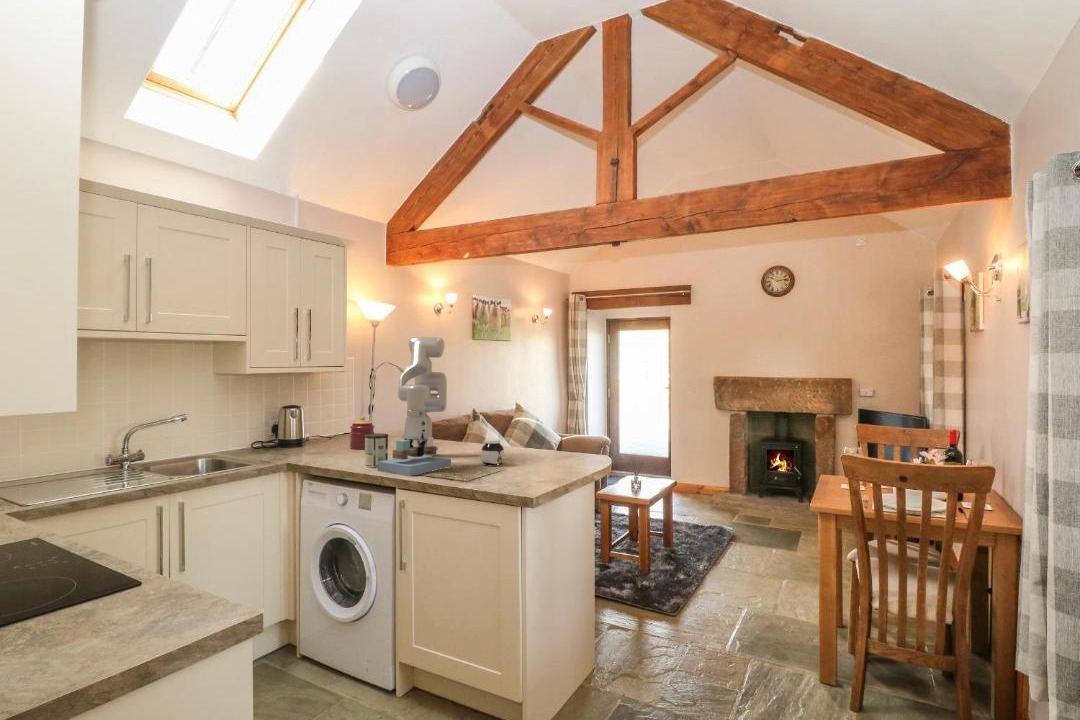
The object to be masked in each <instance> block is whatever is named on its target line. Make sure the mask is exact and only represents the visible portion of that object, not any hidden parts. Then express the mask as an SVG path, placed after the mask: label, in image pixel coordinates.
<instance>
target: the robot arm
mask: <svg viewBox="0 0 1080 720" xmlns="http://www.w3.org/2000/svg"><path fill="white" fill-rule="evenodd" d="M408 348H409V351H410V366H409V367H408V368H406V369H405V370H404V371H403V373H402V374H401V375H400V377H399V380H398V387H397V398H398V399H399V401H402V402H406V417H405V423H404V433H403V435H402V440H409V441H410V448H411V447H418V446H419V447H418V448H417V449H418V456H423V455H425V456H433V457H435V456H434V455H436V454H434V455H429V454H424V446H425V444H426V443H427V441H428V440H429V438H428V437H433V421H432V419H431V417H430V415H429V414H428V413H443V412H445V411H446V409H447V402H448V401H447V396H448V394H447V385H448V384H447V376H446V374H445V373H444V372H442V371H432V370H433V368H432V367H433V362H432V360H431V359H430V358H441V357H442V356H443V354H444V350H445V341H444V339H443V338H442V337H436V336H435V337H432V336H431V337H430V336H427V337H426V336H416V337H412V338H410V339H409V341H408ZM412 379H414V384H407V383H408V381H411V380H412ZM431 391H433V392H434V391H435V393H431ZM436 392H437V393H436ZM438 450H439V447H438V446H436V451H438Z"/></svg>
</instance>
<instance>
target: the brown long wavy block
mask: <svg viewBox="0 0 1080 720" xmlns="http://www.w3.org/2000/svg"><path fill="white" fill-rule="evenodd" d="M418 447H419V446H418ZM418 447H411V448H410V450H406V451H399V450H396V449H392V459H400V460H404V459H408V457H409V456H412V457H422V456H418V449H417V448H418ZM436 447H437V446H436V445H433V446H432V447H424V454H429V455H434V454H435V455H437V450H436Z"/></svg>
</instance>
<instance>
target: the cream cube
mask: <svg viewBox="0 0 1080 720" xmlns="http://www.w3.org/2000/svg"><path fill="white" fill-rule="evenodd" d="M428 438H429V440H428V441H427V443H426V444H425V446H424V447H432V446H434V437H433V436H432V437H428Z"/></svg>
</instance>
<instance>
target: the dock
mask: <svg viewBox="0 0 1080 720" xmlns="http://www.w3.org/2000/svg"><path fill="white" fill-rule="evenodd" d="M450 466H451V467H452V459H451V458H447V457H440V456H439V457H438V456H433V457H432V456H425V455H423V456H422V457H412V456H408V459H404V460H400V459H393V458H391V459H388V460H385V461H379V462H378V467H377V471H378V472H381V473H382V472H383V473H388V472H389V474H394V473H395V475H401V476H406V477H413V476H418V475H422V474H423V473H424V474H427V473H426V472H429V471H432V470H435V469H440V468H445V467H450ZM429 473H430V472H429Z"/></svg>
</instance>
